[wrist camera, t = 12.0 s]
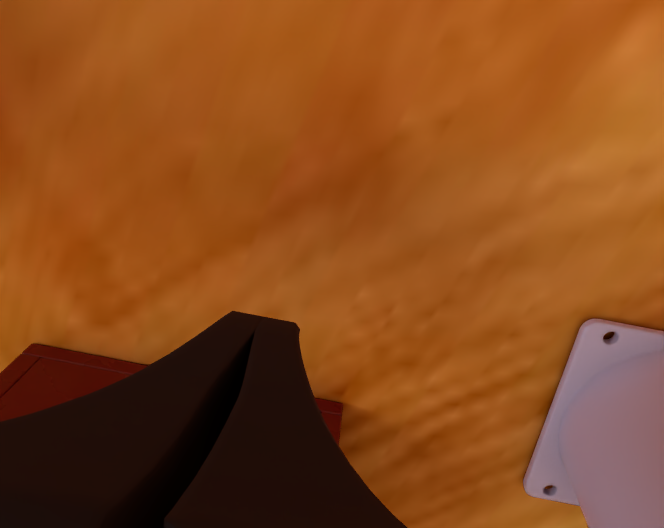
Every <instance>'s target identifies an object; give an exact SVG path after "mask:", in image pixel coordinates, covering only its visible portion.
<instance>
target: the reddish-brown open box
mask: <svg viewBox="0 0 664 528" xmlns="http://www.w3.org/2000/svg"><path fill="white" fill-rule="evenodd" d="M146 367H147V365H142V364H136V363H131V362H126V361H121V360H116V359H111V358H105V357H100V356H95V355H90V354H85V353H80V352H75V351H69V350H64V349H59V348H54V347H49V346H44V345H38V344H31V345H30V346H29V347H28V348H27V349H26V350H24V351H23V353H22V354H20V355H19V356H18V357H17V358H16V359H15V360H14V361H13V362H12V363H11V364H9V365H8V366H7V367H6V368H5V369H4V370H3V371H2V372H1V373H0V422H1V421H5V420H9V419H13V418H16V417H20V416H24V415H27V414H31V413H34V412H38V411H41V410H44V409H47V408H49V407H52V406H55V405H58V404H61V403H64V402H67V401H70V400H73V399H76V398H79V397H81V396H84V395H87V394H90V393H92V392H95V391H97V390H99V389H102V388H104V387H106V386H109V385H111V384H113V383H115V382H118V381H120V380H122V379H124V378H126V377H128V376H130V375H132V374H134V373H136V372H138V371H140V370H142V369H144V368H146ZM315 400H316V403H317V405H318V407H319V410H320V412H321V414H322V416H323V418H324V420H325V422H326V424H327V426H328V428H329V430H330V432H331V434H332V436H333V437H334V439H335V441H336V443H337V444H338V446H339V439H340V429H341V420H342V410H343V404H342V403H338V402H333V401H327V400H322V399H317V398H315Z"/></svg>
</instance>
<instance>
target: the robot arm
mask: <svg viewBox="0 0 664 528" xmlns="http://www.w3.org/2000/svg"><path fill="white" fill-rule="evenodd" d="M299 332H300V329H299V327H298V326H297V324H296V323H294V322H289V321H283V320H278V319H273V318H267V317H262V316H257V315H251V314H246V313H241V312H236V311H232V312H230V313H229V314H227V315H225V316H224V317H222V318H221V319H220V320H218V321H217V322H215V323H214V324H213V325H211V326H210V327H208V328H207V329H206V330H204V331H203V332H201V333H200V334H198V335H197V336H196V337H194V338H193V339H191V340H190V341H188V342H187V343H185V344H184V345H182V346H181V347H179V348H178V349H176V350H174V351H173V352H171V353H170V354H168V355H166V356H165V357H163V358H161V359H159V360H158V361H156V362H154V363H152V364H151V365H149V366H147V367H146V368H144V369H142V370H140V371H138V372H136V373H134V374H132V375H130V376H128V377H126V378H124V379H122V380H120V381H118V382H115V383H113V384H111V385H109V386H106V387H104V388H102V389H99V390H97V391H95V392H92V393H90V394H87V395H84V396H81V397H79V398H76V399H73V400H70V401H67V402H64V403H61V404H58V405H55V406H52V407H49V408H47V409H44V410H41V411H38V412H34V413H31V414H27V415H24V416H20V417H16V418H13V419H9V420H5V421H1V422H0V528H407V527H406V526H405V525H404V524H403V523H402V522H401V521H399V520H398V519H397V518H396V517H395V516H394V515H393V514H392V513H391V512H390V511H389V510H388V509H387V508H386V507H385V506H384V505H383V504H382V503H381V501H380V500H379V499H378V498H377V497H376V496H375V495H374V494H373V493H372V492H371V491H370V489H369V488H368V487H367V486H366V484H365V483H364V482H363V480H362V479H361V478H360V476H359V475H358V474H357V473H356V471H355V470H354V469H353V467H352V466H351V465H350V463H349V462H348V460H347V459H346V457H345V456H344V454H343V452H342V451H341V449H340V448H339V446H338V444H337V443H336V441H335V439H334V437H333V436H332V434H331V432H330V430H329V428H328V426H327V424H326V422H325V420H324V418H323V416H322V414H321V412H320V410H319V407H318V405H317V403H316V400H315V398H314V395H313V393H312V390H311V387H310V384H309V381H308V378H307V375H306V371H305V368H304V364H303V360H302V356H301V350H300V344H299ZM608 332H615V333H614V335H613V337H612V338H610V339H603V336H604V335H605V334H606V333H608ZM523 485H524V489H525V491H526V493H527V494H528V495H530V496H532V497H537V498H542V499H547V500H552V501H557V502H562V503H567V504H573V505H578V506H580V507H581V510H582V512H583V515H584V517H585V520H586V522H587V525H588V527H589V528H664V331H660V330H655V329H649V328H644V327H639V326H634V325H629V324H623V323H618V322H613V321H608V320H603V319H590V320H587V321H586V322H584V323H583V324H582V326H581V327H580V329H579V332H578V335H577V337H576V340H575V343H574V345H573V348H572V351H571V353H570V356H569V359H568V362H567V364H566V367H565V370H564V372H563V375H562V378H561V380H560V383H559V386H558V388H557V391H556V394H555V396H554V399H553V402H552V404H551V407H550V410H549V412H548V415H547V418H546V420H545V423H544V426H543V428H542V431H541V434H540V436H539V439H538V442H537V444H536V447H535V450H534V453H533V455H532V458H531V461H530V463H529V466H528V469H527V471H526V474H525V477H524V479H523ZM548 485H552V486H553V487H552V488H549V489H545V487H546V486H548Z"/></svg>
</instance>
